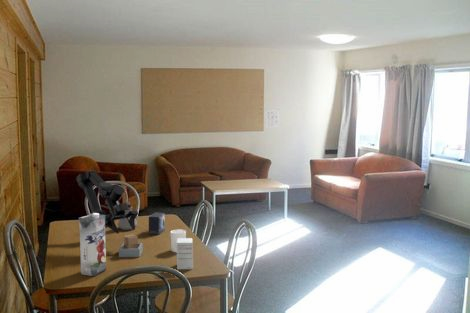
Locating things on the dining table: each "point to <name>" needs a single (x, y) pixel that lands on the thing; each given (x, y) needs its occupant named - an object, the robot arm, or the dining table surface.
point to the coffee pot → (124, 220)
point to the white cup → (174, 236)
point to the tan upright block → (130, 241)
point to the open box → (130, 251)
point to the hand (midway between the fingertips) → (126, 231)
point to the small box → (156, 223)
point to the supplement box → (184, 253)
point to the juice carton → (92, 244)
